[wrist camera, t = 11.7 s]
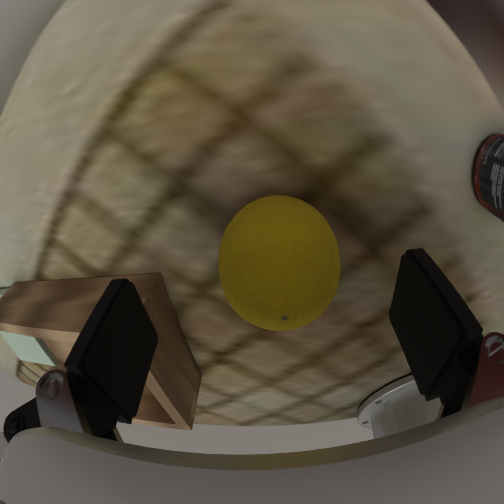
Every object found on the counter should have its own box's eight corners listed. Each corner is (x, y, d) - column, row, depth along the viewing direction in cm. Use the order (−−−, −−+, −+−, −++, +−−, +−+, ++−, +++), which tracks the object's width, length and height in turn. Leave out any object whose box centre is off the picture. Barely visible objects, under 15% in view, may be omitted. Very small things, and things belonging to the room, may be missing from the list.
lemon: (267, 277, 18) (268, 380, 11) (209, 215, 16) (172, 306, 9) (339, 230, 16) (383, 323, 10) (285, 157, 14) (306, 212, 7)
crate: (160, 272, 18) (128, 335, 13) (201, 375, 24) (191, 430, 19) (14, 282, 20) (-18, 319, 15) (65, 362, 26) (46, 399, 21)
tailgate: (7, 294, 19) (-23, 296, 20) (55, 366, 25) (20, 359, 25) (14, 286, 21) (-17, 289, 21) (59, 357, 26) (24, 352, 26)
